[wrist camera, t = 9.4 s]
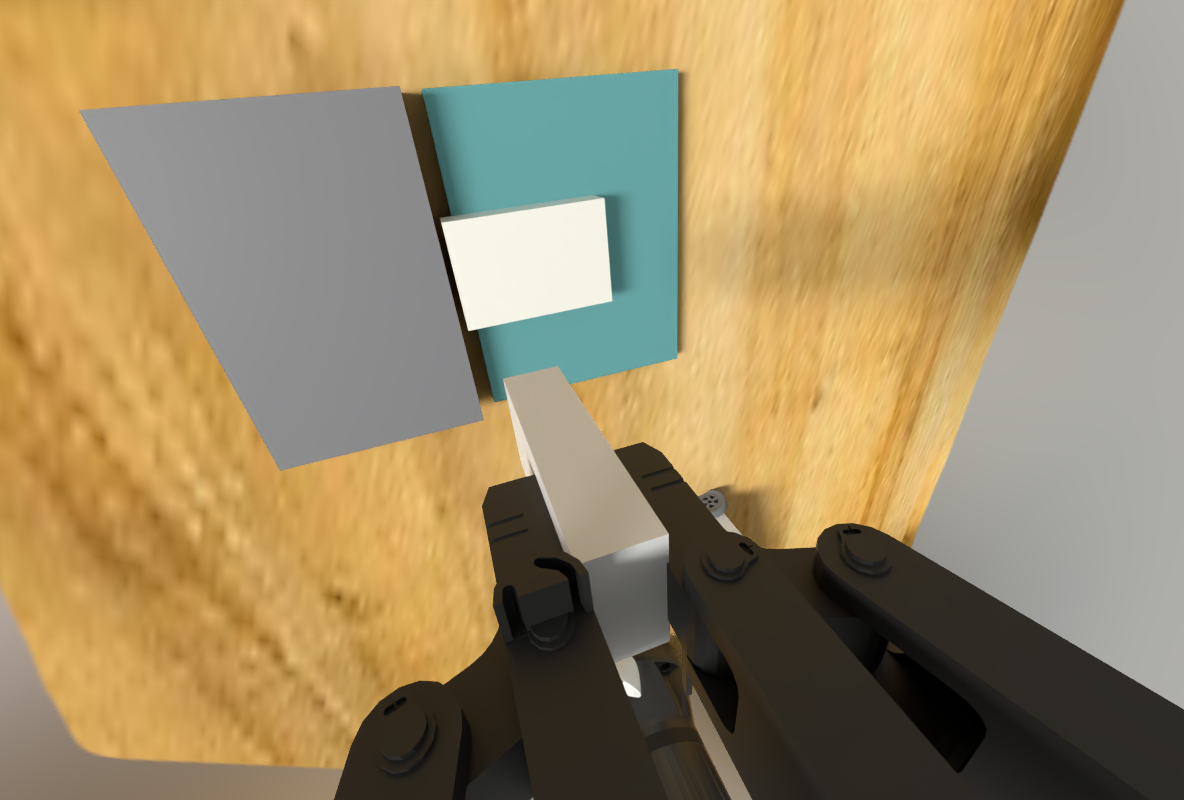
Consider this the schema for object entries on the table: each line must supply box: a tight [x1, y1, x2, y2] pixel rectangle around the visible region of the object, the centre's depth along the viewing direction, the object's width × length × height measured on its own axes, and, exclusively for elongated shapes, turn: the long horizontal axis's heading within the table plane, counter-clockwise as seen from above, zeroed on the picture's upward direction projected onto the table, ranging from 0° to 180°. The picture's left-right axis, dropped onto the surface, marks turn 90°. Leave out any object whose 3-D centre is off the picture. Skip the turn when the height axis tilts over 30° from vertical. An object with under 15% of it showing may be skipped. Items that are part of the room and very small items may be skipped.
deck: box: [79, 86, 484, 471], centre depth 25 cm, size 18×12×3 cm, turn 6°
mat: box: [422, 69, 678, 402], centre depth 29 cm, size 18×14×1 cm
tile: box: [440, 195, 612, 331], centre depth 27 cm, size 6×9×2 cm, turn 96°
